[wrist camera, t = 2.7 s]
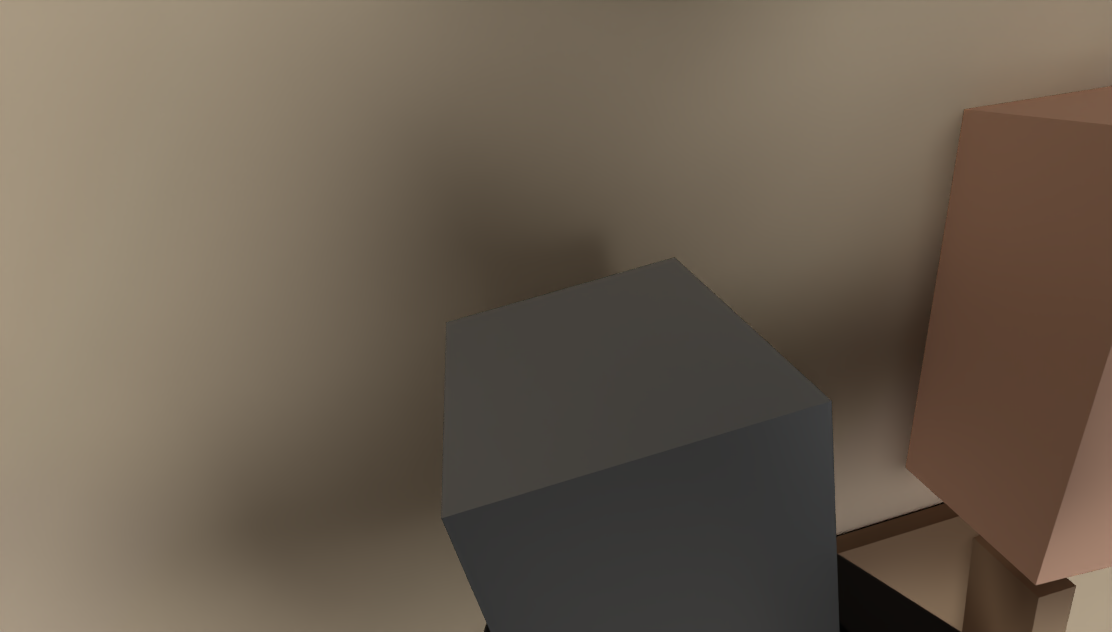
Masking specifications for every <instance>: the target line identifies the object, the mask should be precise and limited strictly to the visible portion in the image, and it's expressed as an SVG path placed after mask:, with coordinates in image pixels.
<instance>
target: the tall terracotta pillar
mask: <svg viewBox="0 0 1112 632" xmlns="http://www.w3.org/2000/svg"><path fill="white" fill-rule="evenodd" d="M906 468H907V469H908V470H909V471H910V472H911V473H912V474H913V475H915V476H916V477H917V478H918V479H919V480H920V481H921V482H922V483H923V484H924V485H926V486H927V487H928V488H929V489H930V490H931V491H932V492H933V493H934V494H935V495H937V496H938V497H939V498H940V499H941V500H942V501H943V502H944V503H945V504H947V505H948V506H949V507H950V508H951V509H952V510H953V511H954V512H955V513H956V514H958V515H959V516H960V517H961V518H962V519H963V520H964V521H965V522H966V523H967V524H969V525H970V526H971V527H972V528H973V529H974V530H975V531H976V532H977V533H978V534H980V535H981V536H982V537H983V538H984V539H985V540H986V541H987V542H988V543H989V544H991V545H992V546H993V547H994V548H995V549H996V550H997V551H998V552H999V553H1001V554H1002V555H1003V556H1004V557H1005V558H1006V559H1007V560H1008V561H1009V562H1010V563H1012V564H1013V565H1014V566H1015V567H1016V568H1017V569H1018V570H1019V571H1020V572H1021V573H1023V574H1024V575H1025V576H1026V577H1027V578H1028V579H1029V580H1030V581H1031V582H1032V583H1034V584H1035V585H1039V584H1043V583H1047V582H1051V581H1055V580H1059V579H1063V578H1067V577H1071V576H1075V575H1079V574H1084V573H1088V572H1092V571H1096V570H1100V569H1104V568H1108V567H1112V86H1109V87H1102V88H1096V89H1090V90H1083V91H1077V92H1071V93H1064V94H1058V95H1052V96H1045V97H1039V98H1033V99H1026V100H1020V101H1014V102H1007V103H1001V104H995V105H988V106H982V107H976V108H969V109H964V113H963V119H962V125H961V132H960V138H959V144H958V150H957V156H956V162H955V168H954V174H953V180H952V187H951V193H950V199H949V205H948V211H947V217H946V223H945V229H944V235H943V241H942V248H941V254H940V260H939V266H938V272H937V278H936V284H935V290H934V296H933V303H932V309H931V315H930V321H929V327H928V333H927V339H926V345H925V351H924V357H923V364H922V370H921V376H920V382H919V388H918V394H917V400H916V406H915V412H914V419H913V425H912V431H911V437H910V443H909V449H908V455H907V461H906Z"/></svg>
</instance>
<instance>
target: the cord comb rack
mask: <svg viewBox="0 0 1112 632" xmlns="http://www.w3.org/2000/svg"><path fill="white" fill-rule="evenodd" d="M836 543H837V553H838V554H839V555H841V556H843V557H844V558H846V559H847V560H849V561H851V562H852V563H854V564H855V565H857V566H858V567H860V568H862V569H863V570H865V571H866V572H868V573H869V574H871V575H873V576H874V577H876V578H877V579H879V580H880V581H882V582H884V583H885V584H887V585H888V586H890V587H891V588H893V589H895V590H896V591H898V592H899V593H901V594H902V595H904V596H906V597H907V598H909V599H910V600H912V601H913V602H915V603H917V604H918V605H920V606H921V607H923V608H925V609H926V610H928V611H929V612H931V613H932V614H934V615H936V616H937V617H939V618H940V619H942V620H943V621H945V622H947V623H948V624H950V625H951V626H953V627H954V628H956V629H958V630H959V631H961V632H1065V631H1066V627H1067V622H1068V618H1069V614H1070V610H1071V605H1072V601H1073V597H1074V593H1075V588H1076V585H1074V584H1073V583H1072V582H1071V581H1070V580H1068V579H1067V578H1063V579H1059V580H1055V581H1051V582H1047V583H1043V584H1039V585H1035V584H1034V583H1032V582H1031V581H1030V580H1029V579H1028V578H1027V577H1026V576H1025V575H1024V574H1023V573H1021V572H1020V571H1019V570H1018V569H1017V568H1016V567H1015V566H1014V565H1013V564H1012V563H1010V562H1009V561H1008V560H1007V559H1006V558H1005V557H1004V556H1003V555H1002V554H1001V553H999V552H998V551H997V550H996V549H995V548H994V547H993V546H992V545H991V544H989V543H988V542H987V541H986V540H985V539H984V538H983V537H982V536H981V535H980V534H978V533H977V532H976V531H975V530H974V529H973V528H972V527H971V526H970V525H969V524H967V523H966V522H965V521H964V520H963V519H962V518H961V517H960V516H959V515H958V514H956V513H955V512H954V511H953V510H952V509H951V508H950V507H949V506H948V505H947V504H941V505H938V506H935V507H932V508H928V509H925V510H922V511H919V512H915V513H912V514H909V515H906V516H902V517H899V518H896V519H893V520H889V521H886V522H883V523H880V524H876V525H873V526H870V527H867V528H863V529H860V530H857V531H854V532H850V533H847V534H844V535H841V536H837V537H836Z"/></svg>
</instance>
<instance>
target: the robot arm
mask: <svg viewBox="0 0 1112 632" xmlns="http://www.w3.org/2000/svg"><path fill="white" fill-rule="evenodd" d="M837 573H838V602H839V631H840V632H961V631H959V630H958V629H956V628H954V627H953V626H951V625H950V624H948V623H947V622H945V621H943V620H942V619H940V618H939V617H937V616H936V615H934V614H932V613H931V612H929V611H928V610H926V609H925V608H923V607H921V606H920V605H918V604H917V603H915V602H913V601H912V600H910V599H909V598H907V597H906V596H904V595H902V594H901V593H899V592H898V591H896V590H895V589H893V588H891V587H890V586H888V585H887V584H885V583H884V582H882V581H880V580H879V579H877V578H876V577H874V576H873V575H871V574H869V573H868V572H866V571H865V570H863V569H862V568H860V567H858V566H857V565H855V564H854V563H852V562H851V561H849V560H847V559H846V558H844V557H843V556H841V555H839V554H838V553H837ZM484 632H490V629H489V627H488V625H487V623H486V626H485V629H484Z"/></svg>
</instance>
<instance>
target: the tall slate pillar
mask: <svg viewBox="0 0 1112 632" xmlns="http://www.w3.org/2000/svg"><path fill="white" fill-rule="evenodd" d="M441 519H442V521H443V523H444V526H445V528H446V530H447V532H448V535H449V537H450V539H451V542H452V544H453V546H454V549H455V551H456V553H457V556H458V558H459V560H460V562H461V565H462V567H463V569H464V572H465V574H466V576H467V579H468V581H469V583H470V586H471V588H472V590H473V592H474V595H475V597H476V599H477V602H478V604H479V606H480V609H481V611H482V613H483V616H484V618H485V620H486V622H487V625H488V627H489V629H490V632H840V631H839V602H838V573H837V543H836V514H835V485H834V456H833V427H832V401H831V400H830V399H829V398H828V397H827V396H826V395H825V394H824V393H822V392H821V391H820V390H819V389H818V388H817V387H816V386H815V385H814V384H813V383H812V382H810V381H809V380H808V379H807V378H806V377H805V376H804V375H803V374H802V373H801V372H799V371H798V370H797V369H796V368H795V367H794V366H793V365H792V364H791V363H790V362H789V361H787V360H786V359H785V358H784V357H783V356H782V355H781V354H780V353H779V352H778V351H776V350H775V349H774V348H773V347H772V346H771V345H770V344H769V343H768V342H767V341H766V340H764V339H763V338H762V337H761V336H760V335H759V334H758V333H757V332H756V331H755V330H753V329H752V328H751V327H750V326H749V325H748V324H747V323H746V322H745V321H744V320H743V319H741V318H740V317H739V316H738V315H737V314H736V313H735V312H734V311H733V310H732V309H731V308H729V307H728V306H727V305H726V304H725V303H724V302H723V301H722V300H721V299H720V298H718V297H717V296H716V295H715V294H714V293H713V292H712V291H711V290H710V289H709V288H708V287H706V286H705V285H704V284H703V283H702V282H701V281H700V280H699V279H698V278H697V277H695V276H694V275H693V274H692V273H691V272H690V271H689V270H688V269H687V268H686V267H685V266H683V265H682V264H681V263H680V262H679V261H678V260H677V259H676V258H675V257H674V258H671V259H667V260H664V261H660V262H657V263H653V264H650V265H646V266H643V267H639V268H636V269H632V270H629V271H625V272H622V273H618V274H614V275H611V276H607V277H604V278H600V279H597V280H593V281H590V282H586V283H583V284H579V285H576V286H572V287H569V288H565V289H562V290H558V291H555V292H551V293H548V294H544V295H541V296H537V297H534V298H530V299H527V300H523V301H520V302H516V303H513V304H509V305H506V306H502V307H499V308H495V309H492V310H488V311H485V312H481V313H478V314H474V315H471V316H467V317H464V318H460V319H457V320H453V321H450V322H446V350H445V390H444V431H443V472H442V512H441Z"/></svg>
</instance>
